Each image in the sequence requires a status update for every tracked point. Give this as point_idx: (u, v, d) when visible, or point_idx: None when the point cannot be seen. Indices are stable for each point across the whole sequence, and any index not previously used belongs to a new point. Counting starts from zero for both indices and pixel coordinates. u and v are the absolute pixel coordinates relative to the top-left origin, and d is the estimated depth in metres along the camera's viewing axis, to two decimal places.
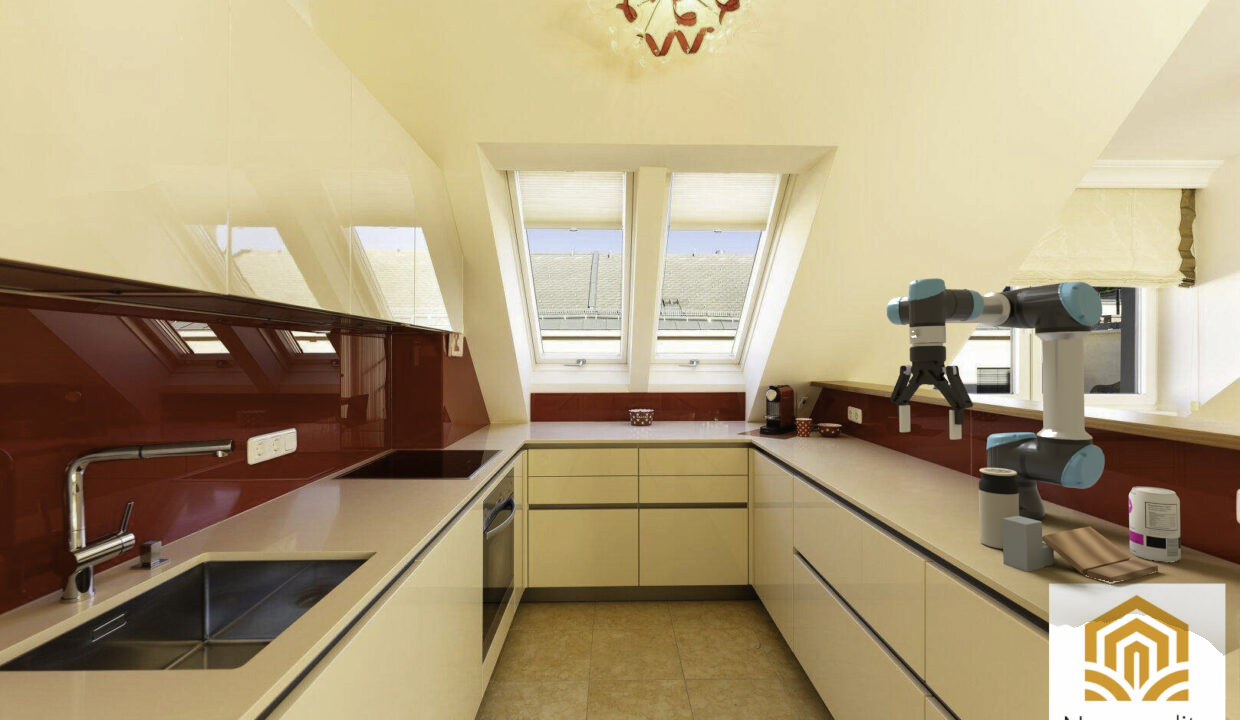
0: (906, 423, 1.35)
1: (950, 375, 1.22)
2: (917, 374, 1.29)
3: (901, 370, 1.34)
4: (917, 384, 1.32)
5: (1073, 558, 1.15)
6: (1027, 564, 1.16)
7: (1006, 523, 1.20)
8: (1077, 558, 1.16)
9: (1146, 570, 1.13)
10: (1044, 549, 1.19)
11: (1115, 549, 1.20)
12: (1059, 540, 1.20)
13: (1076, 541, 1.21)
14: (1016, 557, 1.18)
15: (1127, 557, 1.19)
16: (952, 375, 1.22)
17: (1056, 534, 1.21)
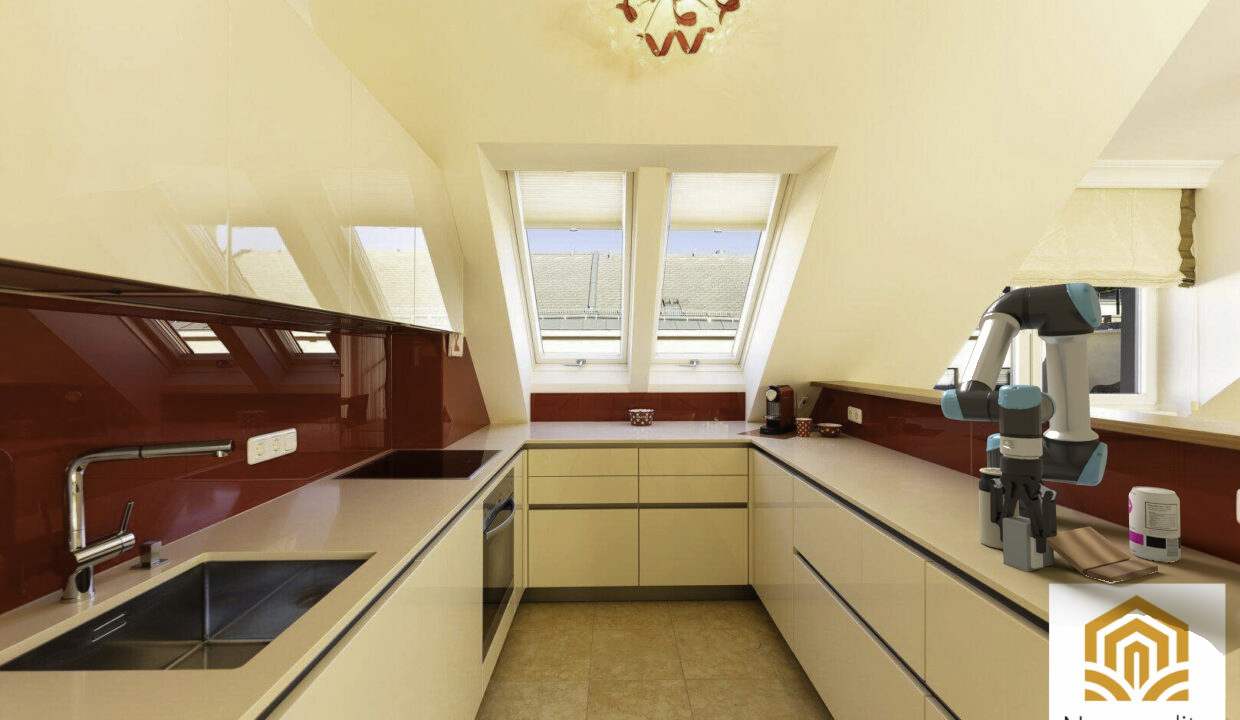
0: None
1: (1047, 501, 1.13)
2: (1010, 486, 1.19)
3: (990, 484, 1.24)
4: (1014, 499, 1.21)
5: (1073, 558, 1.15)
6: (1027, 564, 1.16)
7: (1006, 523, 1.20)
8: (1077, 558, 1.16)
9: (1146, 570, 1.13)
10: None
11: (1115, 549, 1.20)
12: (1059, 540, 1.20)
13: (1076, 541, 1.21)
14: (1016, 557, 1.18)
15: (1127, 557, 1.19)
16: (1048, 502, 1.13)
17: None
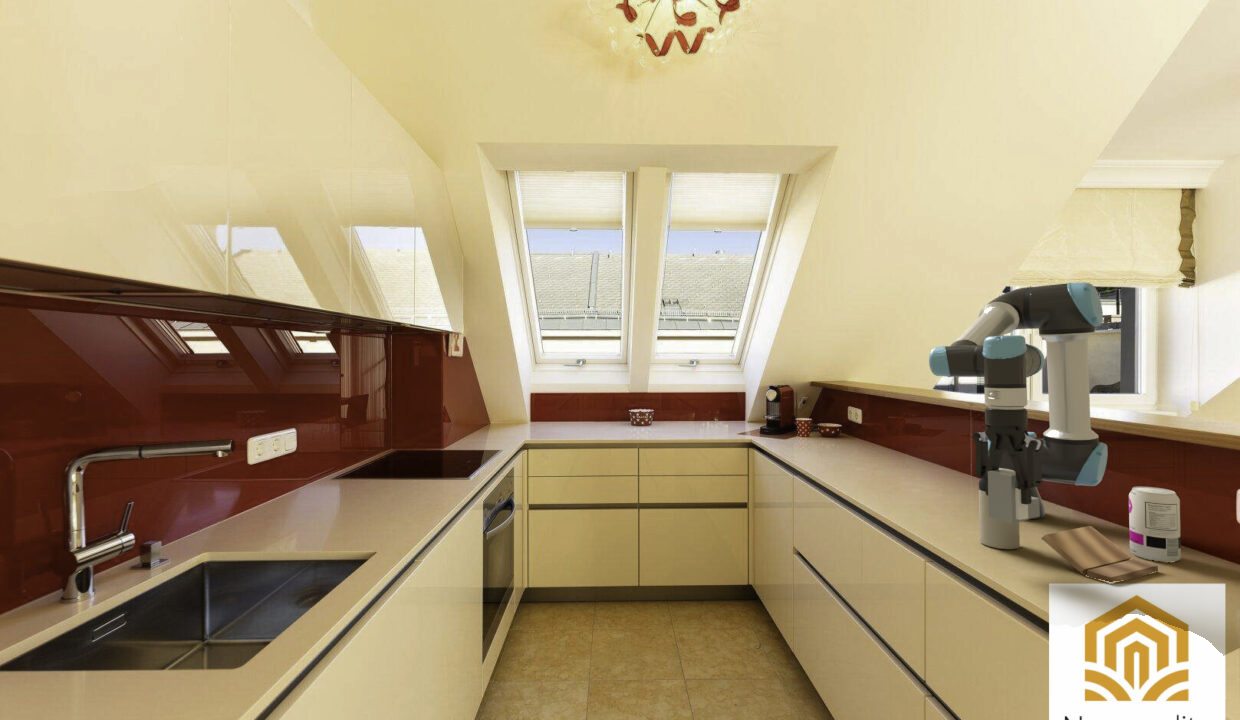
0: None
1: (1031, 451, 1.12)
2: (995, 438, 1.18)
3: (975, 438, 1.23)
4: (999, 451, 1.19)
5: (1073, 558, 1.15)
6: (1012, 515, 1.15)
7: (991, 476, 1.18)
8: (1077, 558, 1.16)
9: (1146, 570, 1.13)
10: None
11: (1115, 549, 1.20)
12: (1060, 540, 1.20)
13: (1077, 540, 1.20)
14: (1001, 510, 1.17)
15: (1127, 557, 1.19)
16: (1033, 451, 1.12)
17: (1057, 533, 1.21)
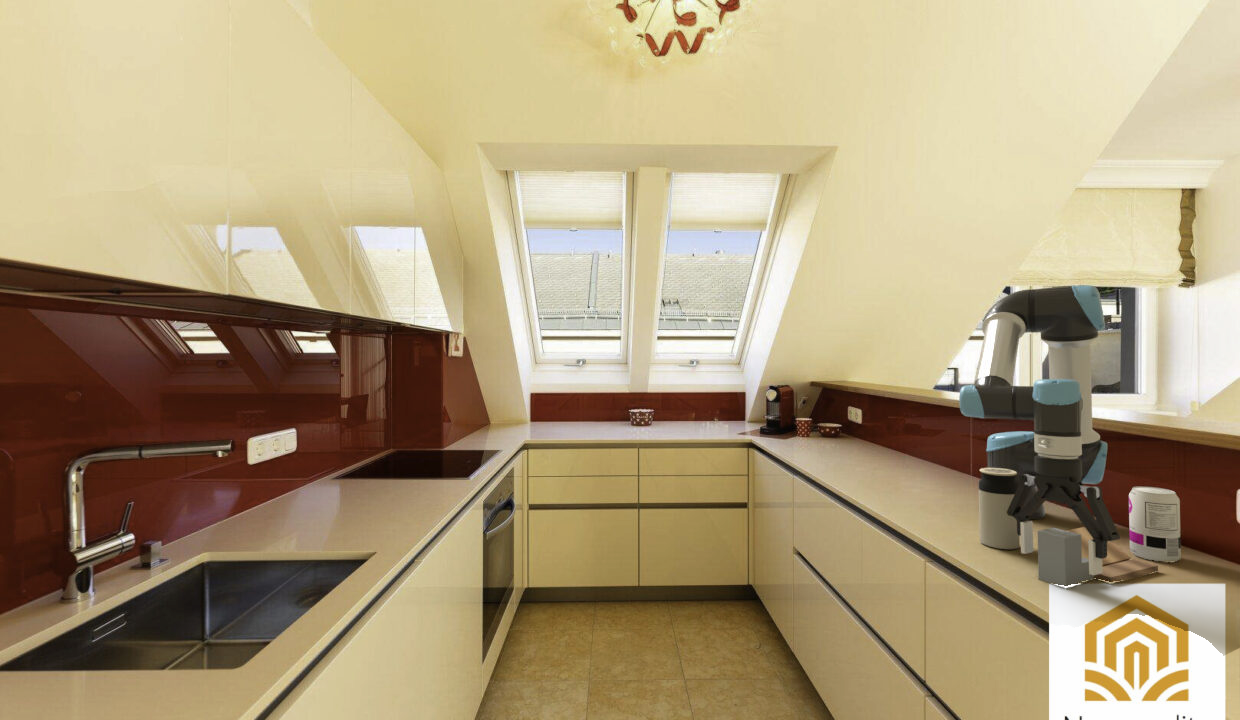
0: (1029, 542, 1.16)
1: (1092, 499, 1.04)
2: (1045, 489, 1.11)
3: (1021, 480, 1.16)
4: (1043, 499, 1.13)
5: None
6: (1066, 580, 1.07)
7: (1042, 536, 1.11)
8: None
9: (1146, 570, 1.13)
10: (1083, 564, 1.10)
11: (1115, 549, 1.20)
12: None
13: None
14: (1053, 573, 1.09)
15: (1127, 557, 1.19)
16: (1095, 499, 1.04)
17: None
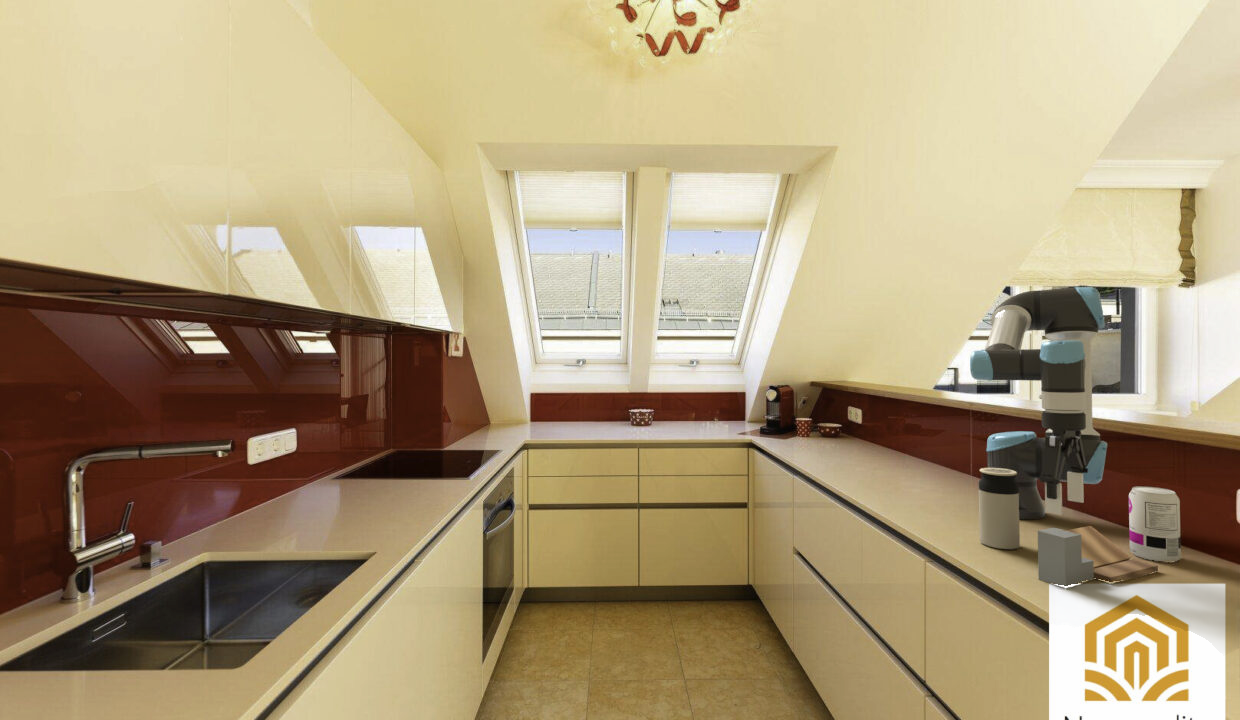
0: (1075, 492, 1.24)
1: None
2: None
3: None
4: None
5: None
6: (1066, 580, 1.07)
7: (1042, 536, 1.11)
8: None
9: (1146, 570, 1.13)
10: (1083, 564, 1.10)
11: (1115, 549, 1.20)
12: None
13: None
14: (1053, 573, 1.09)
15: (1127, 557, 1.19)
16: (1046, 446, 1.17)
17: None
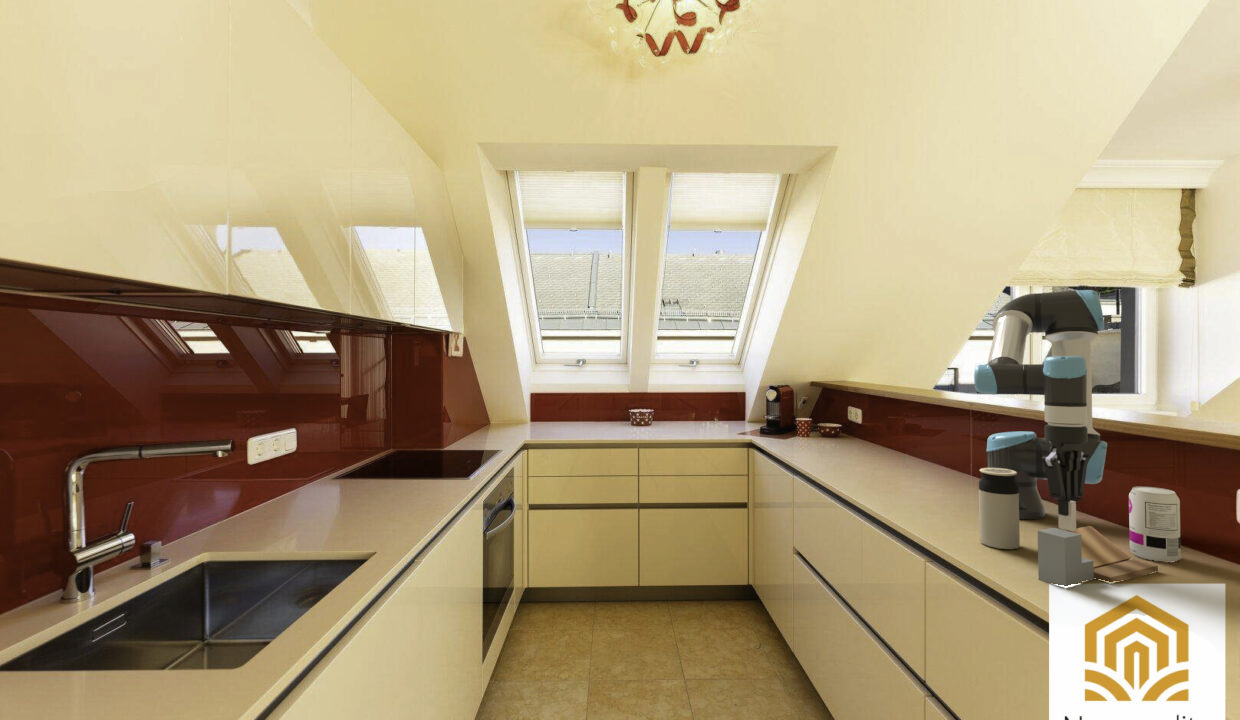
0: None
1: None
2: None
3: None
4: None
5: None
6: (1066, 580, 1.07)
7: (1042, 536, 1.11)
8: None
9: (1146, 570, 1.13)
10: (1083, 564, 1.10)
11: (1115, 549, 1.20)
12: None
13: None
14: (1053, 573, 1.09)
15: (1127, 557, 1.19)
16: (1046, 466, 1.22)
17: None
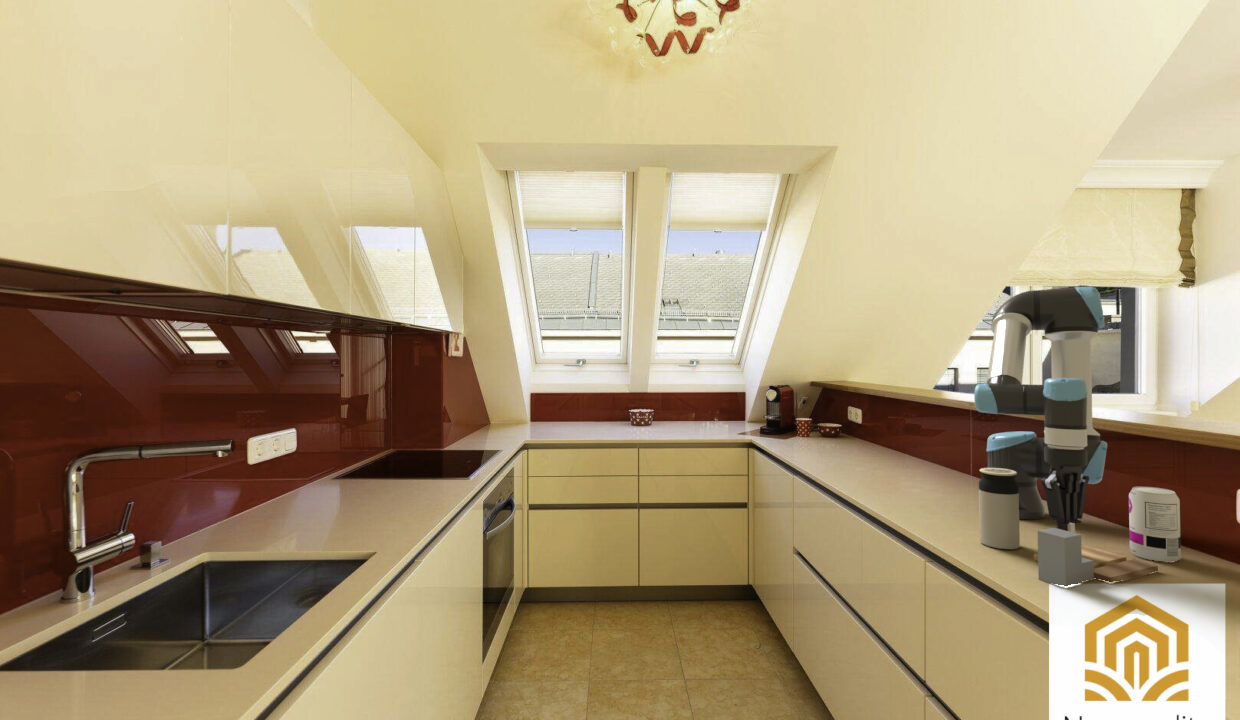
0: None
1: None
2: None
3: None
4: None
5: None
6: (1066, 580, 1.07)
7: (1042, 536, 1.11)
8: None
9: (1146, 570, 1.13)
10: (1083, 564, 1.10)
11: (1108, 554, 1.21)
12: None
13: None
14: (1053, 573, 1.09)
15: (1122, 557, 1.19)
16: (1045, 488, 1.22)
17: None
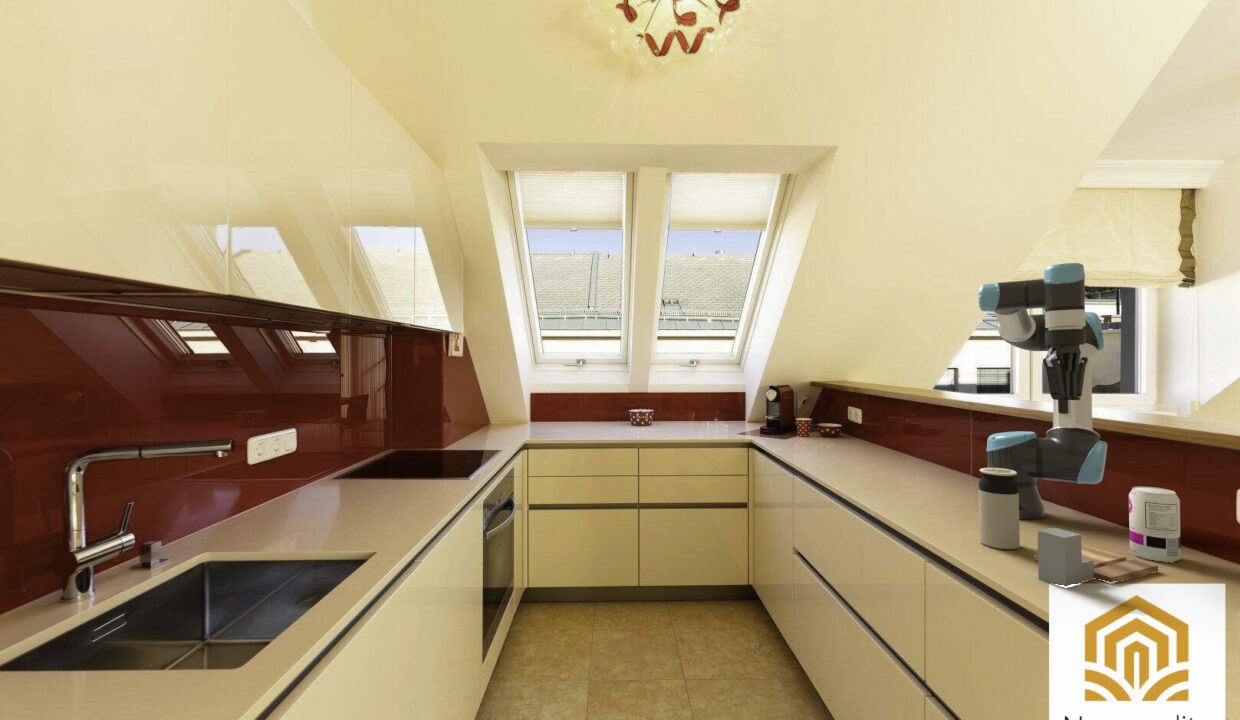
0: None
1: None
2: None
3: None
4: None
5: None
6: (1066, 580, 1.07)
7: (1042, 536, 1.11)
8: None
9: (1146, 570, 1.13)
10: (1083, 564, 1.10)
11: (1108, 554, 1.21)
12: None
13: None
14: (1053, 573, 1.09)
15: (1122, 557, 1.19)
16: (1046, 367, 1.30)
17: None
